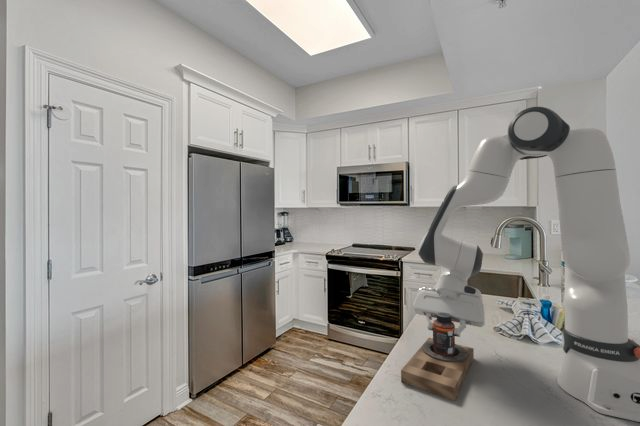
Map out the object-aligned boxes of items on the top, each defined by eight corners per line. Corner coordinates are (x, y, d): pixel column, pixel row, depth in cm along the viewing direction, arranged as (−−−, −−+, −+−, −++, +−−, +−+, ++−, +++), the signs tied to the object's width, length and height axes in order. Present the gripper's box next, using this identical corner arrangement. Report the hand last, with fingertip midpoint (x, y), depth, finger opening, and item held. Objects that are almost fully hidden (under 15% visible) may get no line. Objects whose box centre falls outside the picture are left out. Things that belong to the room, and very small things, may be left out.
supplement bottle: (457, 358, 82) (457, 319, 81) (434, 356, 83) (435, 317, 83) (452, 348, 87) (452, 311, 87) (431, 346, 89) (431, 310, 88)
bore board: (473, 358, 87) (473, 346, 87) (454, 400, 67) (454, 385, 67) (429, 346, 94) (429, 335, 94) (401, 381, 75) (401, 368, 75)
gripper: (416, 281, 97) (405, 319, 89) (485, 291, 84) (480, 336, 77) (420, 291, 100) (410, 329, 93) (488, 302, 88) (483, 346, 80)
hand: (443, 332), depth 85 cm, fingers closed on supplement bottle, 6 cm apart
